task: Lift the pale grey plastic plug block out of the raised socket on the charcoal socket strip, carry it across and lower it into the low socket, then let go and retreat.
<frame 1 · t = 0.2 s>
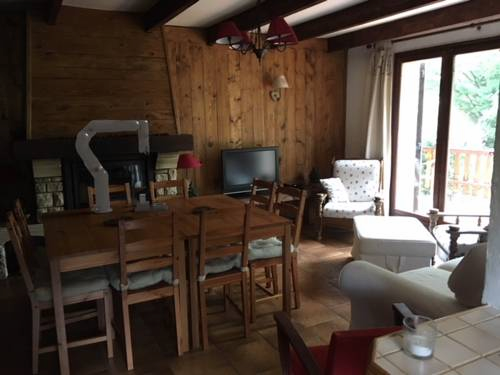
hand: (145, 159, 324), 36 cm above the table, tool pointing down, fingers open, 9 cm apart
magazine: (143, 205, 336), on the table
socket panel: (151, 209, 320), on the table
plug: (143, 206, 318), point 3 cm above the table, touching socket panel
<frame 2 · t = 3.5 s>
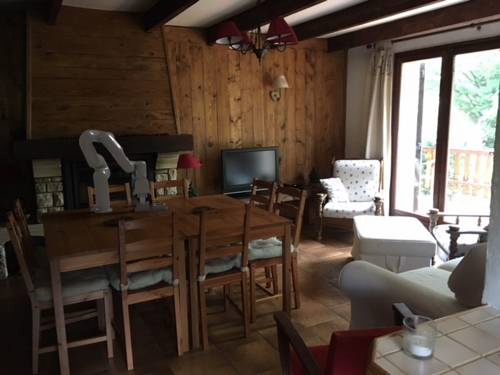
hand: (142, 202, 317), 6 cm above the table, tool pointing down, fingers closed on plug, 4 cm apart
plug: (142, 206, 318), point 3 cm above the table, touching gripper, socket panel
everything else where it was.
when the fingers open (5 cm above the table, at t = 9.6 s): plug drops 1 cm, resting on socket panel.
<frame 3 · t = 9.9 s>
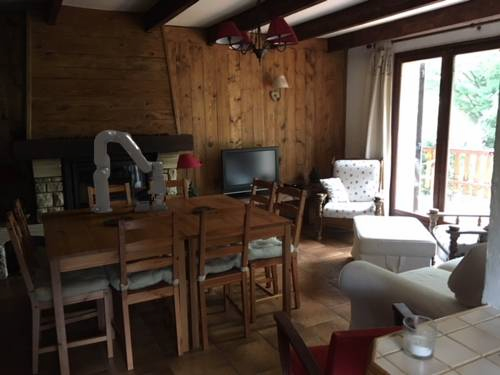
hand: (159, 201, 320), 6 cm above the table, tool pointing down, fingers open, 7 cm apart
plug: (159, 208, 321), point 1 cm above the table, touching socket panel
everything else where it was.
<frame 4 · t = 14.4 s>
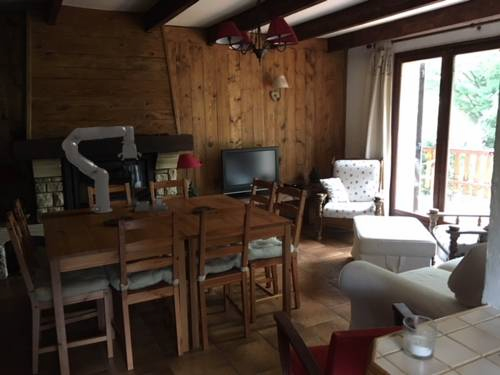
hand: (130, 165, 323), 32 cm above the table, tool pointing down, fingers open, 9 cm apart
nothing on the table moved.
at the end: plug 0.1 cm from the target spot on the socket panel, point 0.6 cm above the socket panel's base; plug tilted 0°; the gripper is holding nothing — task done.
